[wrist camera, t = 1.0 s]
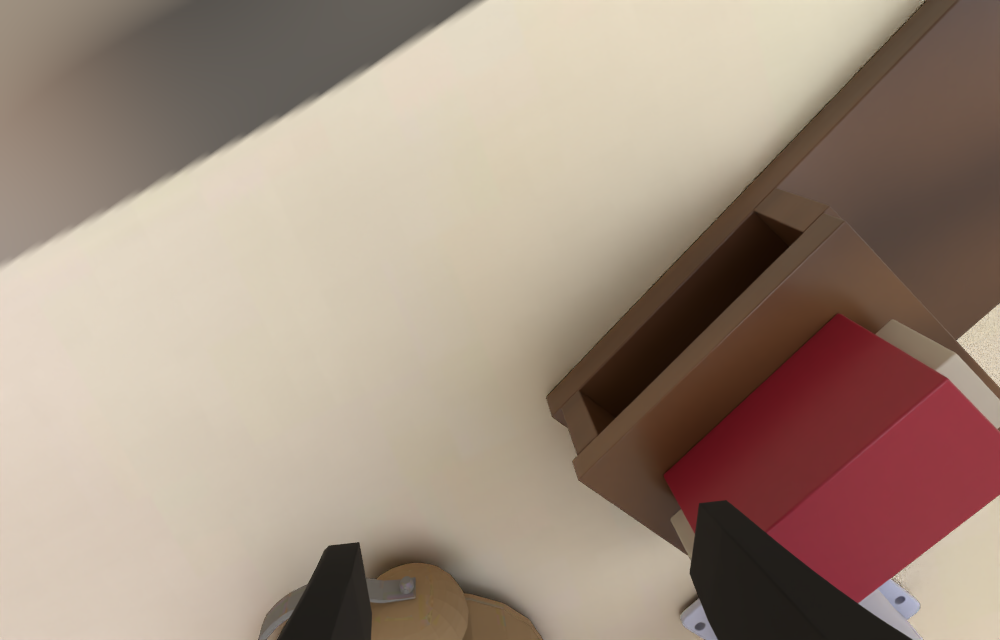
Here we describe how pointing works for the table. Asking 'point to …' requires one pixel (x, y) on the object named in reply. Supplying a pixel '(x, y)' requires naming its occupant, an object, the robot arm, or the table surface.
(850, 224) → the step shelf
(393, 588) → the alarm clock
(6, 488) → the table surface
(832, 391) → the red box with cap
